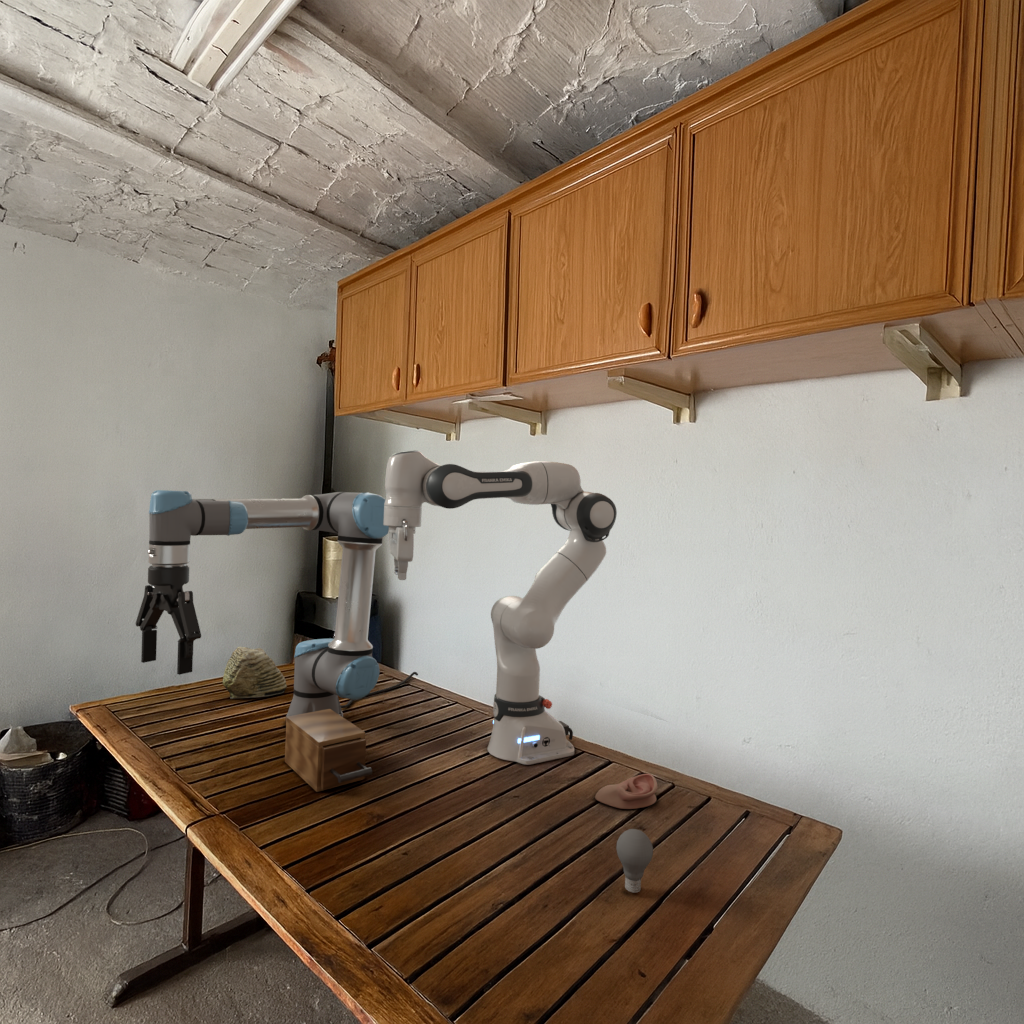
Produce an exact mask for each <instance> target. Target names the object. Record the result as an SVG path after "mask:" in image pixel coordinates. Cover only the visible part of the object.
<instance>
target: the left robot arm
mask: <svg viewBox="0 0 1024 1024" xmlns="http://www.w3.org/2000/svg"><path fill="white" fill-rule="evenodd" d="M385 500H386V498H385V497H384V496H382V495H380V494H377V493H371V492H369V491H367V492H352V491H351V492H350V491H349V492H348V491H337V492H329V493H321V494H306V495H303V496H302V497H300V498H193V496H192V493H191V492H190V491H189V490H170V489H169V490H167V489H156V490H154V491H152V493H151V494H150V500H149V510H148V514H149V515H148V517H149V522H148V523H149V525H148V526H149V535H148V536H149V537H148V539H149V540H148V550H147V554H148V563H149V564H150V565H149V567H147V585H145V586H144V592H143V598H142V601H141V604H140V607H139V610H138V614H137V617H136V620H135V626H136V627H139V629H140V631H141V656H140V657H141V659H140V661H141V663H143V664H145V663H149V662H154V661H157V645H158V642H157V641H158V630H157V629H158V626H157V624H158V622H159V620H160V618H161V617H162V615H163V613H164V611H165V612H167V614H168V615H170V616H171V619H172V622H173V624H174V626H175V629H176V631H177V634H178V636H179V639H178V641H177V661H176V662H177V663H176V664H177V668H176V675H178V676H180V675H184V674H190V673H193V666H194V665H193V663H194V661H193V660H194V659H193V658H194V641H196V640H198V639H201V638H202V632H201V628H200V625H199V621H198V616H197V612H196V608H195V604H194V593H193V590H185V591H184V589H183V586H184V585H187V584H188V583H189V582H190V566H189V565H187V564H190V562H191V536H193V537H194V536H195V537H196V536H228V537H229V536H235V535H241V534H243V533H244V532H245V530H257V529H281V528H285V529H286V528H302V529H303V530H304V531H321V532H327V533H332V534H337V543H338V544H339V546H340V547H341V548H342V551H341V552H342V554H341V564H340V576H339V584H338V585H339V587H338V597H337V606H336V619H335V628H334V629H335V630H334V638H317V639H308V640H304V641H300V642H299V643H297V645H296V646H295V650H294V655H293V657H294V672H293V673H294V674H293V695H292V696H293V697H292V699H291V702H290V704H289V708H288V711H287V713H286V715H285V718H286V717H288V716H294V715H299V714H304V713H310V712H315V711H320V710H326V709H331V710H333V711H334V712H336V713H337V714H339V715H340V716H342V717H343V718H344V713H343V709H346V708H349V707H350V706H351V704H352V703H353V702H355V701H357V700H360V699H363V698H367V697H370V696H374V695H377V694H381V693H384V692H388V691H391V690H394V689H396V688H398V687H400V686H402V685H404V684H405V683H406V682H408V681H409V680H410V679H411V678H412V677H413V676H414V675H415V676H419V673H418V672H416V671H413V672H411V673H410V674H409V675H408V676H407V677H406V678H404V679H403V680H402V681H401V682H399V683H397V684H394V685H391V686H389V687H386V688H383V689H382V688H381V689H379V690H375V691H372V690H374V689H375V687H376V686H377V683H378V680H379V678H380V673H381V672H380V671H381V670H380V664H379V662H377V660H376V659H375V658H374V657H373V650H374V649H373V648H374V646H373V644H372V643H371V642H370V640H369V629H370V628H369V627H370V617H371V607H372V606H371V605H372V595H373V584H374V573H375V562H376V551H377V550H378V549H379V548H380V547H381V546H382V545H383V538H384V537H385V536H387V535H389V532H388V530H389V529H388V527H389V526H385V525H383V520H384V503H385ZM339 698H341V699H347V700H349V701H348V702H347V703H346V704H341V702H340V699H339Z"/></svg>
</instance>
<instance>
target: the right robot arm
mask: <svg viewBox="0 0 1024 1024" xmlns="http://www.w3.org/2000/svg"><path fill="white" fill-rule="evenodd" d="M581 481H582V480H581V475H580V472H579V470H578V469H577V468H576V467H575V466H573V465H571V464H568V463H565V462H557V461H545V460H544V461H527V462H521V463H517V464H513V465H512V466H510V468H509V469H505V470H499V471H474V470H471V469H468V468H466V467H463V466H461V465H458V464H454V463H446V464H442V465H441V464H439V463H436V462H434V461H433V460H431V459H430V458H428V457H426V456H425V455H424V454H423V453H422V452H421V451H419V450H405V451H397V452H395V453H393V454H392V455H390V456H389V458H388V459H387V463H386V469H385V480H384V489H385V503H384V520H383V525H385V526H389V527H388V529H389V530H388V545H389V546H388V547H389V553H390V554H391V555H392V557H393V565H394V569H393V570H394V571H393V573H394V574H395V575H396V576H397V579H398V580H399V581H406V580H407V574H408V573H407V572H408V567H409V563H411V562H413V560H414V547H415V546H414V544H415V543H414V541H415V538H414V536H415V534H416V529H417V528H420V527H422V514H423V513H422V512H423V504H424V503H426V504H429V505H431V506H435V507H440V508H443V509H450V510H451V509H458V508H460V507H462V506H464V505H466V504H468V503H469V502H471V501H475V500H484V499H503V498H504V499H508V500H511V501H512V502H513V503H514V504H515V503H516V504H521V505H528V506H529V505H531V506H533V505H535V506H538V505H550V507H551V514H552V517H553V520H554V522H555V523H556V524H557V526H558V527H560V528H562V529H563V530H565V531H569V533H568V537H567V540H566V541H565V542H564V544H563V545H562V546H561V547H560V548H559V549H558V550H557V551H556V552H555V553H554V554H553V555H552V556H551V558H549V559H548V561H546V562H545V564H544V565H543V566H542V567H541V568H540V569H539V570H537V572H536V573H535V576H534V580H533V583H532V584H531V586H530V588H529V589H528V591H527V593H526V594H525V595H524V596H523V597H521V596H518V595H507V596H503V597H501V598H499V599H497V600H496V601H495V602H494V604H493V605H492V607H491V610H490V619H491V623H492V627H493V628H492V629H493V639H494V648H495V649H494V650H495V657H496V687H495V688H496V689H495V694H494V696H493V703H492V704H493V705H492V707H493V708H492V714H493V720H492V730H491V735H490V738H489V741H488V744H487V752H488V753H489V754H490V755H491V756H493V757H495V758H497V759H500V760H504V761H510V762H515V763H518V764H522V765H524V766H530V765H534V764H539V763H545V762H549V761H554V760H558V759H562V758H567V757H572V756H574V755H575V754H576V753H575V752H576V751H575V747H574V745H573V743H572V742H571V741H572V740H573V736H574V731H573V729H572V728H571V727H570V725H568V724H567V723H565V722H563V721H562V720H558V719H557V718H556V717H554V716H553V715H552V714H551V713H550V712H548V711H547V710H550V709H551V708H552V707H553V702H552V701H551V700H550V699H548V698H545V697H543V696H542V695H540V680H541V665H540V662H539V659H538V655H537V649H541V648H543V647H545V646H546V645H548V644H549V643H550V642H551V640H552V638H553V636H554V634H555V626H556V623H557V622H558V620H559V618H560V616H561V615H562V613H563V611H564V609H565V608H566V606H567V605H568V603H569V602H570V601H571V600H572V599H573V598H574V597H575V595H576V594H577V593H578V592H579V591H580V590H581V589H582V588H583V586H584V585H585V584H586V583H587V582H588V581H589V580H590V579H591V577H592V576H593V575H594V574H595V572H596V571H597V570H598V568H599V567H600V566H601V564H602V563H603V561H604V559H605V558H606V555H607V546H606V545H605V542H604V540H606V539H607V538H608V537H609V536H610V532H611V530H612V528H613V527H614V525H615V523H616V520H617V513H618V512H617V506H616V504H615V502H614V501H613V500H612V499H611V498H610V497H608V496H607V495H605V494H602V493H600V492H591V491H584V490H583V488H582V485H581V483H582V482H581ZM546 709H547V710H546ZM567 736H568V739H567Z"/></svg>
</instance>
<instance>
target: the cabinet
mask: <svg viewBox="0 0 1024 1024" xmlns="http://www.w3.org/2000/svg"><path fill="white" fill-rule="evenodd" d="M363 738H364V739H366V732H365V731H364V730H362V729H361V728H360V727H358V726H357V725H355V724H354V723H352V722H351V721H350V720H348V719H347V718H345V717H344V716H343V717H342V716H340V715H339V714H337V713H336V712H334V711H333V710H331V709H326V710H320V711H315V712H310V713H304V714H299V715H294V716H288V717H286V716H285V747H284V763H285V764H286V765H287V766H289V767H290V769H292V770H293V771H294V772H295V773H296V774H297V775H298V777H300V778H301V779H302V780H303V781H304V782H305V783H306V784H308V786H309V787H310V788H311V789H313V790H314V791H315V793H319V792H323V791H326V790H330V789H333V788H337V787H341V786H345V785H348V784H353V783H355V782H359V781H363V780H364V779H361V780H358V781H354V782H350V783H347V784H343V785H339V786H336V787H332V788H328V789H325V790H323V789H322V788H321V771H322V748H323V746H326V745H330V744H335V743H339V742H344V741H348V740H352V739H357V740H358V739H363Z"/></svg>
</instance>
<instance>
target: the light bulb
mask: <svg viewBox="0 0 1024 1024" xmlns="http://www.w3.org/2000/svg"><path fill="white" fill-rule="evenodd" d="M615 849H616V854H617V857H618V859H619V861H620V863H621V865H622V867H623V873H624V874H623V875H624V876H625V878H624V888H625V890H627V891H628V892H630V893H634V894H635V893H639V892H640V891H641V889H642V887H641V886H642V879H643V877H644V875H645V871H646V868H647V867H648V866H649V864H650V863H651V861H652V859H653V855H654V847H653V843H652V841H651V838H649V836H648V835H647V834H646V833H645V832H643V831H642V830H641V829H636V828H629V829H627V830H625V831H623V832H622V833H621V834H620V835H619V837H618V839H617V841H616V847H615Z"/></svg>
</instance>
